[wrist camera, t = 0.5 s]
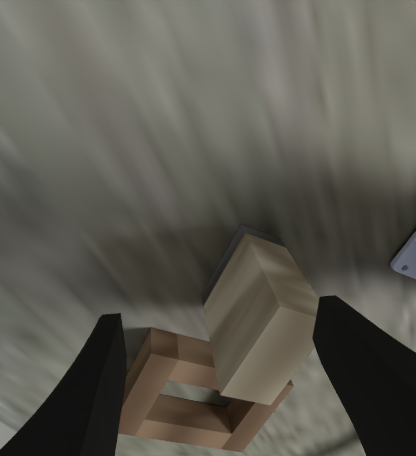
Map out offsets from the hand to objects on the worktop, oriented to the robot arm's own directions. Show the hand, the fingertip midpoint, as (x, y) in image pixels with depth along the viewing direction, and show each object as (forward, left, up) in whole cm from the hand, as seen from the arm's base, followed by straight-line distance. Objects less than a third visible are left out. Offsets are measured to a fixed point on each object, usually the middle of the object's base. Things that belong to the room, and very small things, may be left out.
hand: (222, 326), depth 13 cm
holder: (-7, +14, -10) cm, 18 cm away
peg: (-5, +3, -10) cm, 12 cm away
